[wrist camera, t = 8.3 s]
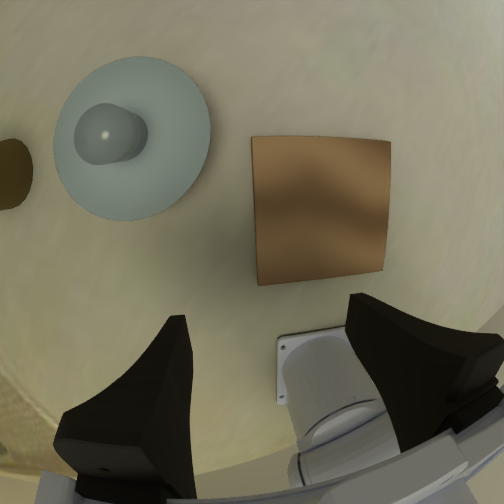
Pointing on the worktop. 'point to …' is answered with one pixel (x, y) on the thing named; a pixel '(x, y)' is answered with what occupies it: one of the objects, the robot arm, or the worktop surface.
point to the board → (319, 206)
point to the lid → (132, 138)
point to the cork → (14, 173)
